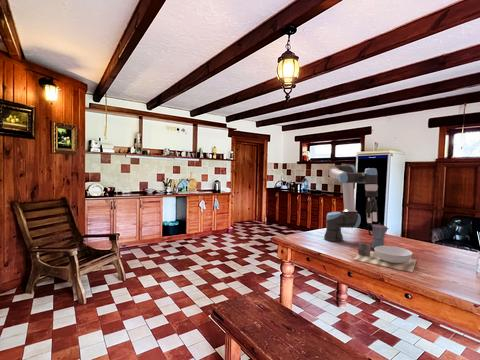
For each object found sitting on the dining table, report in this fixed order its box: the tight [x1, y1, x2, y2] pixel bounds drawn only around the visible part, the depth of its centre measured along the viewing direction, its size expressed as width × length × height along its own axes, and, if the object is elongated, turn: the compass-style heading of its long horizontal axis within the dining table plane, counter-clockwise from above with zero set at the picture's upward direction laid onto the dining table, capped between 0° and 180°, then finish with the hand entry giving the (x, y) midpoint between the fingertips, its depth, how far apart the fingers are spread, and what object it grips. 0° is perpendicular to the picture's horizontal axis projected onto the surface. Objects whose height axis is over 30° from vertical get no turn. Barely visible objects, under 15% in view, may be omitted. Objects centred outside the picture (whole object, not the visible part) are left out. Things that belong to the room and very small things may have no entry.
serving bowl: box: [373, 245, 413, 263], centre depth 162 cm, size 21×21×7 cm
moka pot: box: [367, 222, 389, 250], centre depth 190 cm, size 10×15×20 cm, turn 39°
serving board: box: [352, 242, 418, 273], centre depth 164 cm, size 32×25×9 cm
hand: (372, 222), depth 171 cm, fingers open, 13 cm apart
